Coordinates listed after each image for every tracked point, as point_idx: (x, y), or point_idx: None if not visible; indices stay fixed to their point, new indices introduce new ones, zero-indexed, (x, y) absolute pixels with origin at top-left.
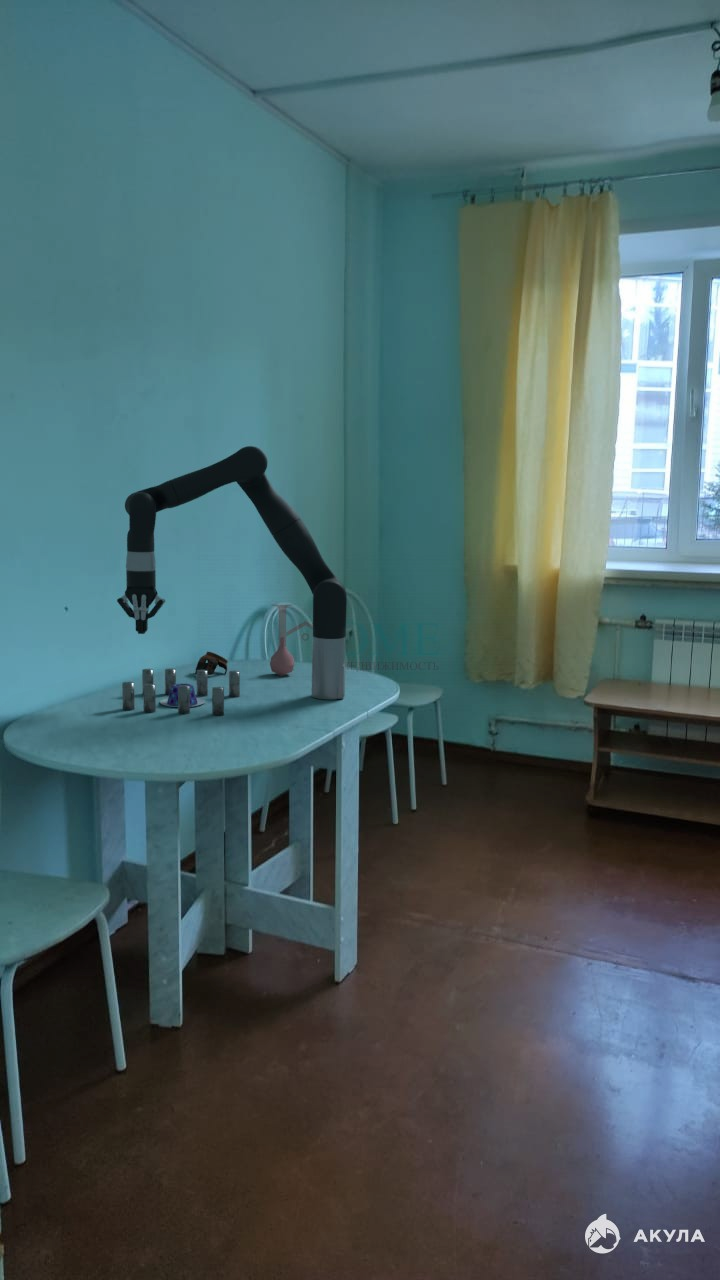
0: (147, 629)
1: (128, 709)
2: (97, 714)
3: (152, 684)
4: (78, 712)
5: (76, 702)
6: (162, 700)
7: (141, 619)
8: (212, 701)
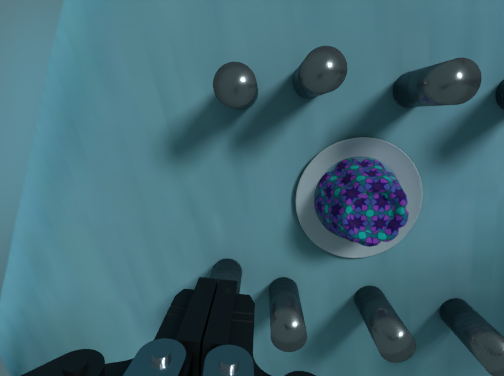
0: (254, 303)
1: None
2: None
3: (297, 329)
4: (120, 306)
5: (76, 209)
6: (300, 188)
7: (194, 361)
8: (461, 340)
